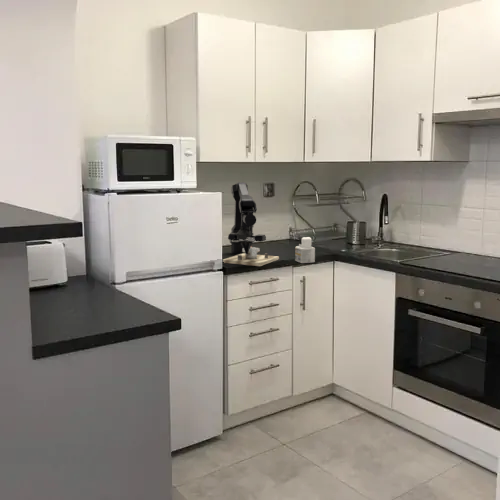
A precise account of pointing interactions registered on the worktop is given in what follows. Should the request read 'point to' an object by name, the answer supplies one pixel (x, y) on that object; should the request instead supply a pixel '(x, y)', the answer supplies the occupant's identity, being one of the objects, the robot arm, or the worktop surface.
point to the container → (305, 251)
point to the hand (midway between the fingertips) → (246, 253)
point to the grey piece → (252, 251)
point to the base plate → (251, 259)
